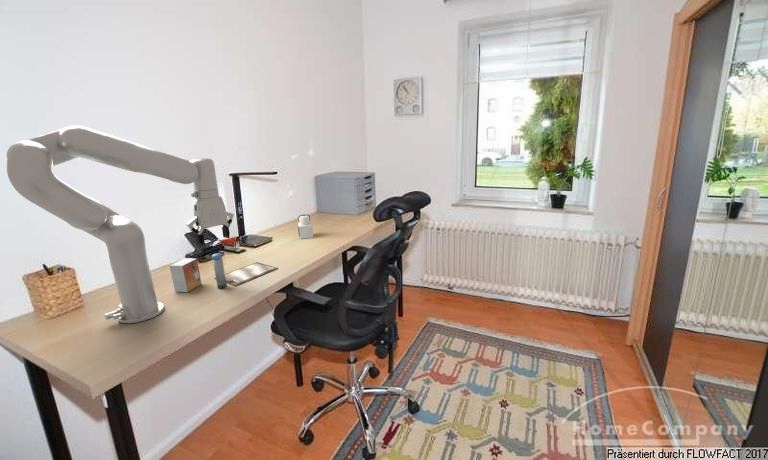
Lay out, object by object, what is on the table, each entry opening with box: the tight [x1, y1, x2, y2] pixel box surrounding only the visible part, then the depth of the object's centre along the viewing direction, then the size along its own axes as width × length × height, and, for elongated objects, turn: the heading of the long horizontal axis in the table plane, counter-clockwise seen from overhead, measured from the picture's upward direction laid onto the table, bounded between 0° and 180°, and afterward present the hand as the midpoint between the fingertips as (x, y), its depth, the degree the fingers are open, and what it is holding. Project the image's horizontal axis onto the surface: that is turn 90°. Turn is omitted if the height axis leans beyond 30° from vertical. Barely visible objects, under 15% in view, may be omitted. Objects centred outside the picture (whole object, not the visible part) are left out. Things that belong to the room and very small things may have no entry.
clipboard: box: [214, 261, 279, 287], centre depth 149 cm, size 20×14×1 cm
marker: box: [211, 252, 228, 290], centre depth 136 cm, size 3×3×13 cm
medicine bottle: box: [297, 214, 314, 240], centre depth 195 cm, size 7×7×12 cm
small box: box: [169, 257, 202, 293], centre depth 137 cm, size 8×6×10 cm
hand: (214, 240), depth 133 cm, fingers open, 9 cm apart
